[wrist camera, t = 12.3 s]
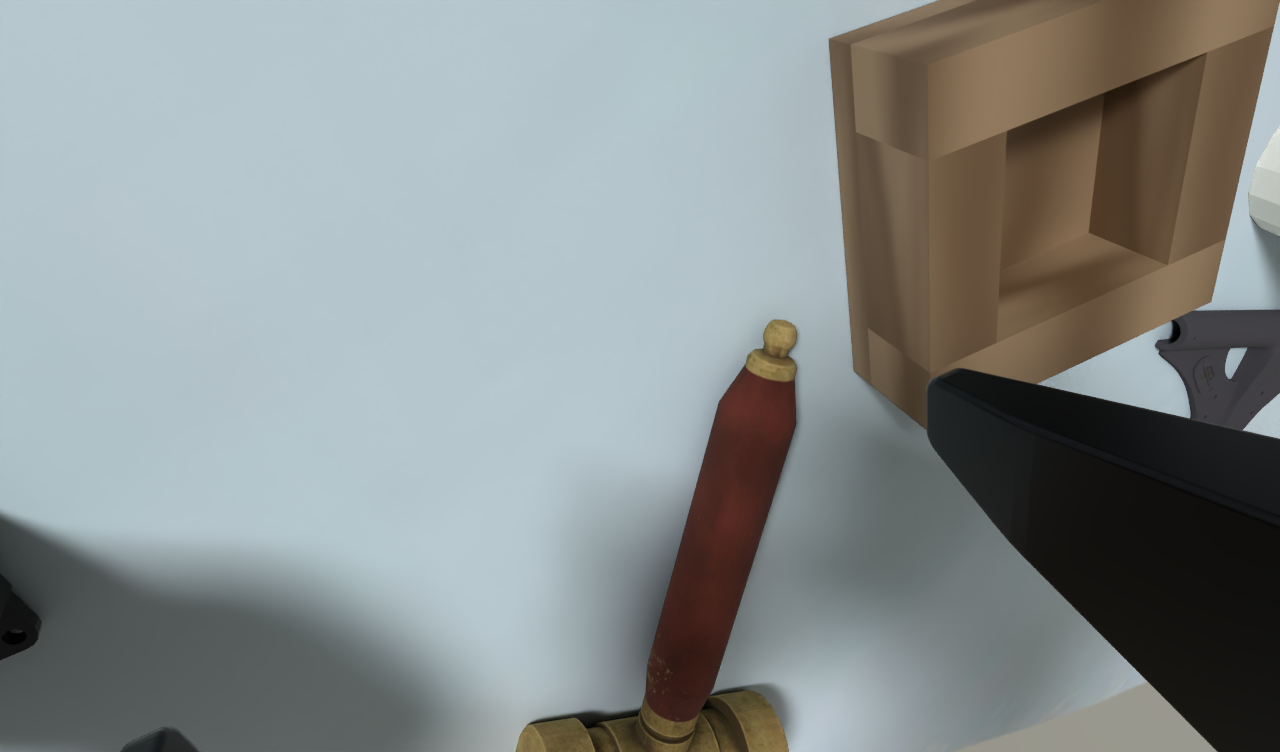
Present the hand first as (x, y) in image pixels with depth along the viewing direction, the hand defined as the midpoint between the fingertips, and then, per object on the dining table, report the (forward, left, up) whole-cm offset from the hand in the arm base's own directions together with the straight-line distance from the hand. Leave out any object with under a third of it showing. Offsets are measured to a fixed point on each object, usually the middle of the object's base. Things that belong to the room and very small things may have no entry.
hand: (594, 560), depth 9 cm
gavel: (+4, -16, -14) cm, 22 cm away
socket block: (+17, -5, -13) cm, 22 cm away
